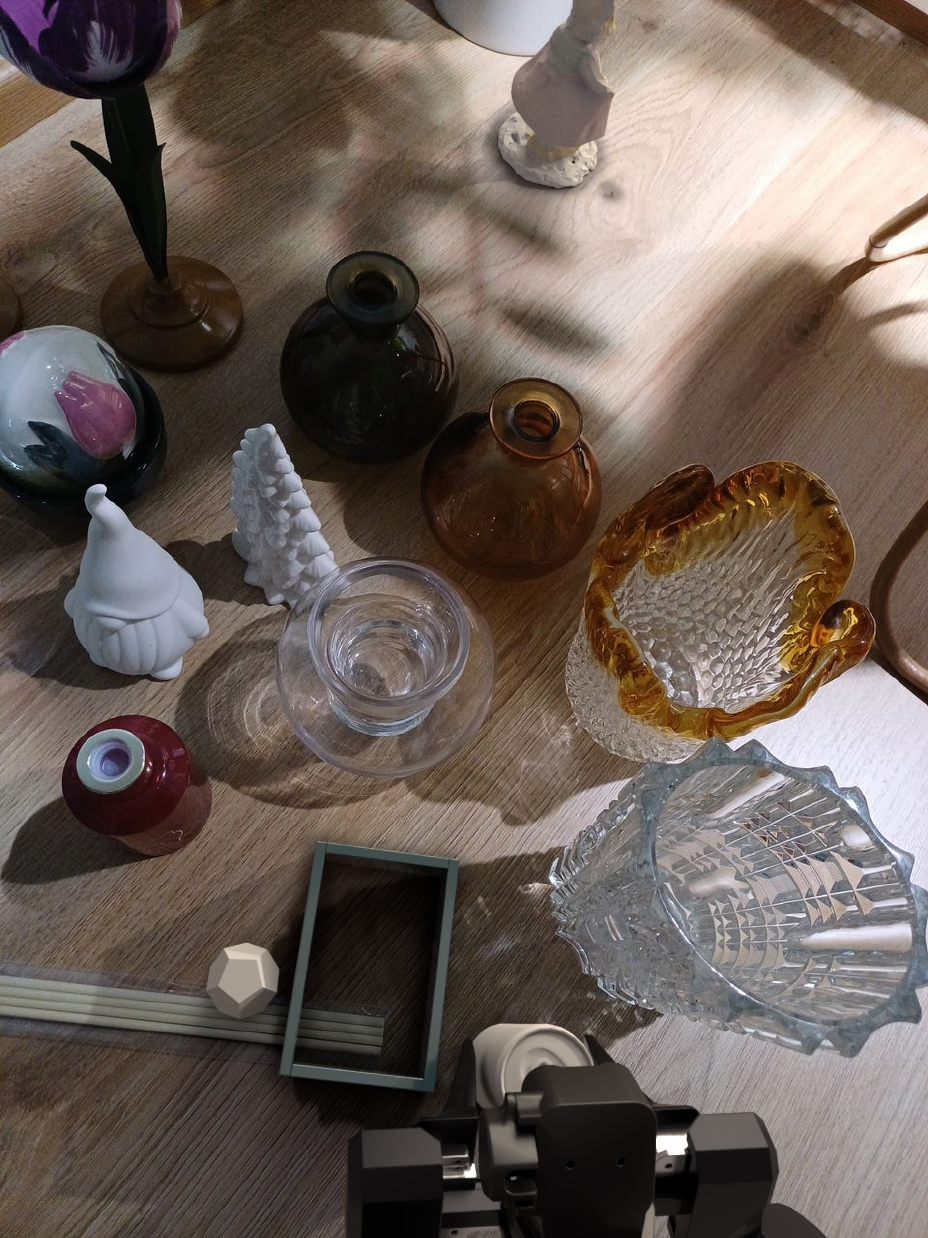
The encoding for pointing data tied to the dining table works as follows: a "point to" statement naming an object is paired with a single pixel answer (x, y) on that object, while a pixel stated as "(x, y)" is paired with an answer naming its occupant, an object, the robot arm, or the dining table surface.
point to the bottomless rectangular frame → (437, 972)
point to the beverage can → (520, 1057)
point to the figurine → (561, 101)
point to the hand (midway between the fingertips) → (527, 1042)
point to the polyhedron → (242, 980)
